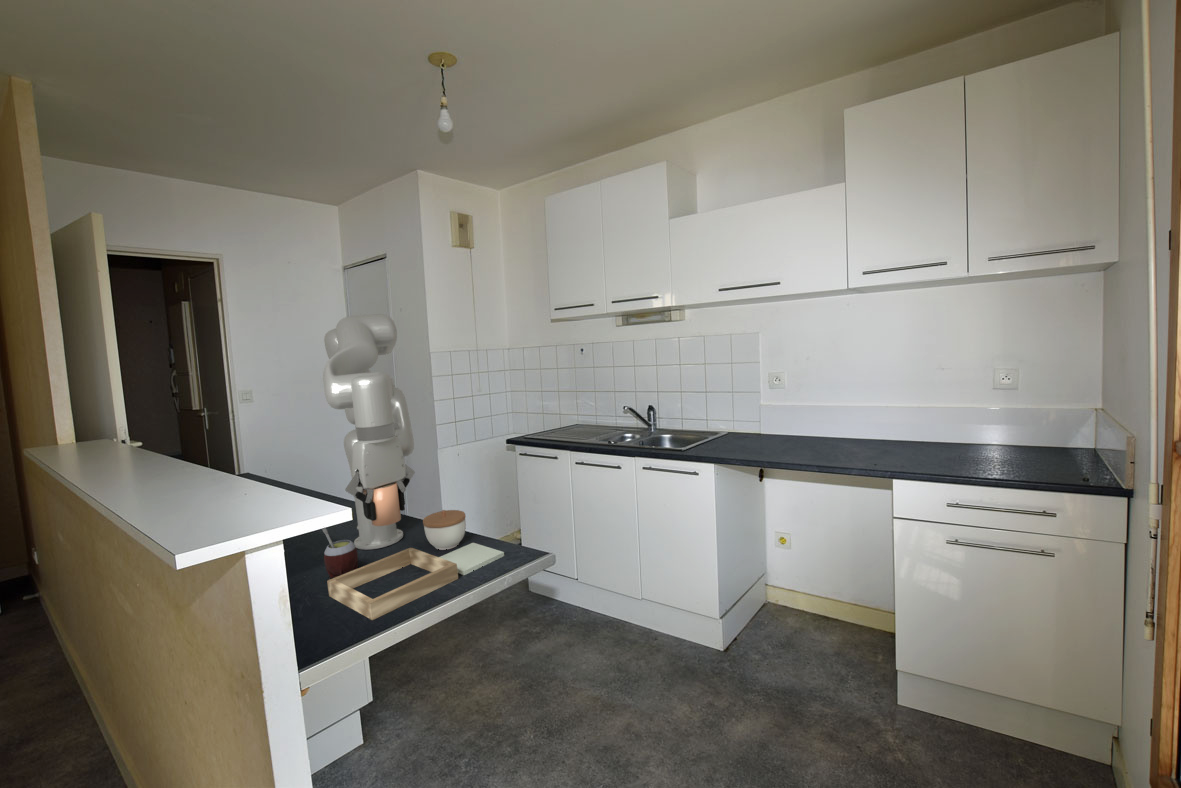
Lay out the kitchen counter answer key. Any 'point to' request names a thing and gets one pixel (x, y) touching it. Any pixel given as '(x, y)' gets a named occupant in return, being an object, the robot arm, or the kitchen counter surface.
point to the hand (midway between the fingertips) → (385, 513)
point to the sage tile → (472, 557)
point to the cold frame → (398, 597)
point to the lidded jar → (445, 528)
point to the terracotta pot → (386, 505)
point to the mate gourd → (340, 557)
